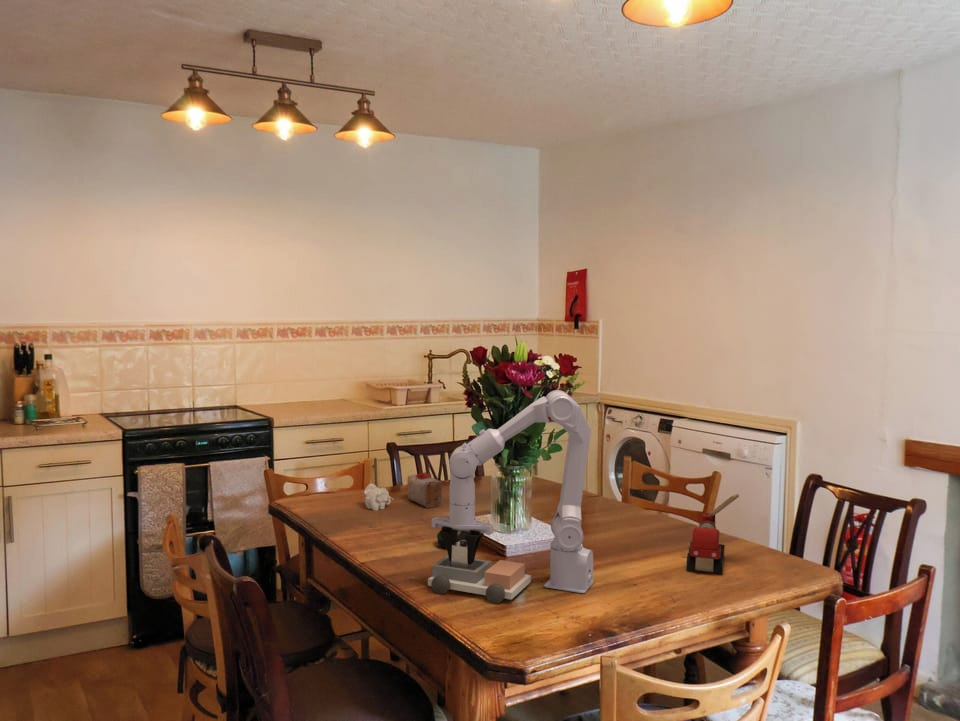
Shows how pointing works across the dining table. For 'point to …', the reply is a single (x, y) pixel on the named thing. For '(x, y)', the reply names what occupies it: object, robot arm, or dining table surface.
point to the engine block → (461, 556)
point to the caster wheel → (460, 536)
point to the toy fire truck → (707, 543)
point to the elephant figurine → (376, 497)
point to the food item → (425, 490)
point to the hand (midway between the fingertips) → (461, 561)
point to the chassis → (481, 579)
